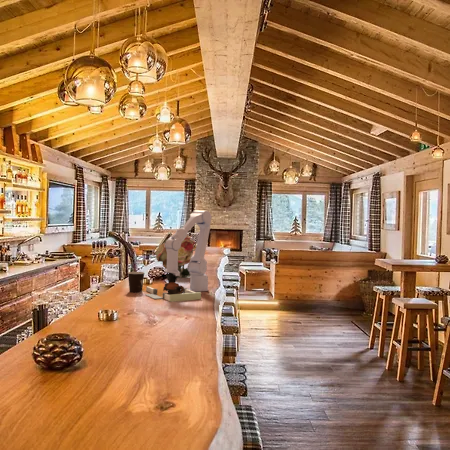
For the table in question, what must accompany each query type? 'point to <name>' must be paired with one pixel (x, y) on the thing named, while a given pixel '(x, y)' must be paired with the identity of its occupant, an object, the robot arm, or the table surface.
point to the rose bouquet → (183, 255)
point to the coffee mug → (135, 281)
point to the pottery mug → (173, 288)
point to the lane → (174, 295)
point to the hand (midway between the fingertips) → (171, 287)
